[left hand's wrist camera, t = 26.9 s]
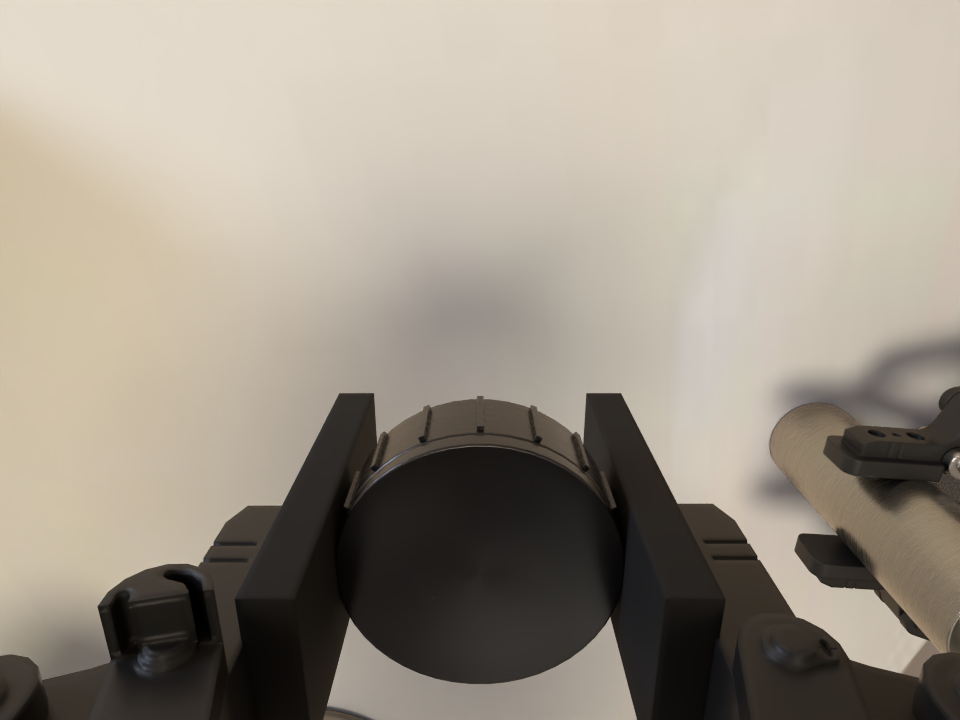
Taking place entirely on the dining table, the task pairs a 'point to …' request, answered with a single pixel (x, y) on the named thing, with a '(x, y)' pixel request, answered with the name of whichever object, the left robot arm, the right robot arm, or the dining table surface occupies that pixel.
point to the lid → (480, 544)
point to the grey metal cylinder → (880, 521)
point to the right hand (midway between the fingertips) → (820, 506)
